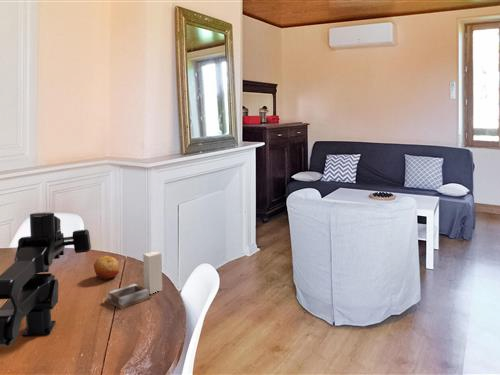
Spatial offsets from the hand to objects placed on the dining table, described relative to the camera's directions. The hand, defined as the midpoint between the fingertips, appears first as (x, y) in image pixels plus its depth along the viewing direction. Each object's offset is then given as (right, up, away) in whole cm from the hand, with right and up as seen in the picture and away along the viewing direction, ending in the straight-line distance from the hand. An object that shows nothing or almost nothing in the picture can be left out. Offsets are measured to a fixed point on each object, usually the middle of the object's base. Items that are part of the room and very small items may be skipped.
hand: (63, 238), depth 132 cm
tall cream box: (+27, -16, +3) cm, 31 cm away
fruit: (+9, -15, +13) cm, 22 cm away
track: (+21, -17, -4) cm, 27 cm away
